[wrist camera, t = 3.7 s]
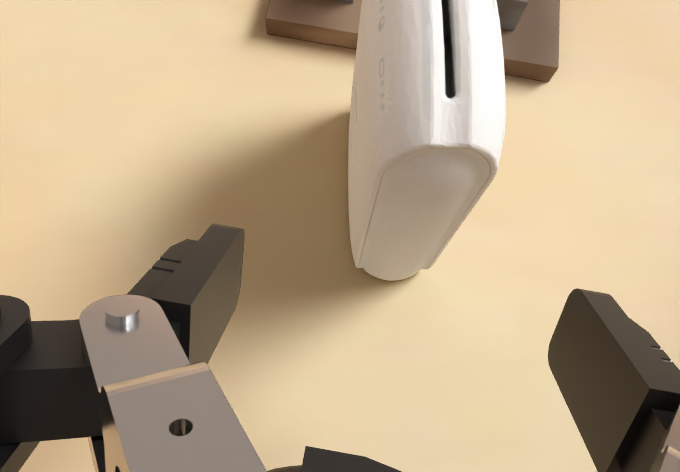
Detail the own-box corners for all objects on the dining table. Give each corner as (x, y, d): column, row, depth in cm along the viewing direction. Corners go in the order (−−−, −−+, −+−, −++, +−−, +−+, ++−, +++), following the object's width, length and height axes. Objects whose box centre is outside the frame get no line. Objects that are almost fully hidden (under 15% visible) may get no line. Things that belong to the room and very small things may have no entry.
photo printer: (345, 97, 27) (368, -144, 16) (424, 100, 27) (504, -136, 16) (344, 282, 24) (372, 146, 12) (435, 283, 24) (548, 152, 12)
